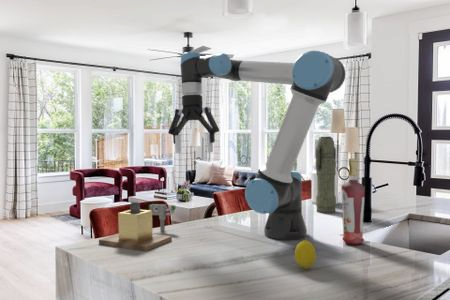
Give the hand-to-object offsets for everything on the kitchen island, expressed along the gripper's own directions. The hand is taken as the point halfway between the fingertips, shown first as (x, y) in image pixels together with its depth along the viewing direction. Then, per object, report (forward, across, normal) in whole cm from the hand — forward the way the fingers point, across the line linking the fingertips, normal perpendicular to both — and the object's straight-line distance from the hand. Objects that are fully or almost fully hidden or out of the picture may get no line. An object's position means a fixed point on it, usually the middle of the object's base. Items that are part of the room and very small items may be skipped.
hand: (194, 152), depth 152 cm
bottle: (+31, -32, -82) cm, 93 cm away
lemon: (+31, -47, +26) cm, 62 cm away
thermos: (+31, -37, -59) cm, 76 cm away
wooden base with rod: (+30, +13, +20) cm, 38 cm away
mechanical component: (+30, +14, +2) cm, 33 cm away
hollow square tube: (+28, +13, +20) cm, 37 cm away
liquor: (+31, -56, -6) cm, 64 cm away
